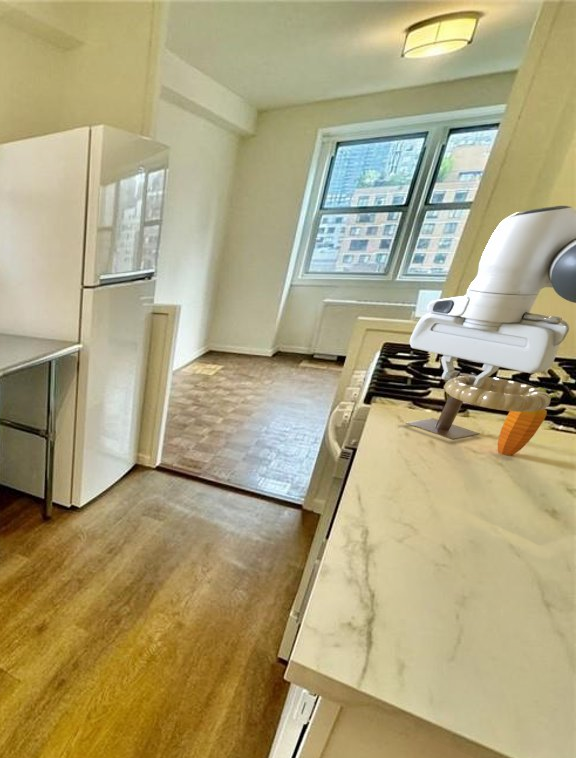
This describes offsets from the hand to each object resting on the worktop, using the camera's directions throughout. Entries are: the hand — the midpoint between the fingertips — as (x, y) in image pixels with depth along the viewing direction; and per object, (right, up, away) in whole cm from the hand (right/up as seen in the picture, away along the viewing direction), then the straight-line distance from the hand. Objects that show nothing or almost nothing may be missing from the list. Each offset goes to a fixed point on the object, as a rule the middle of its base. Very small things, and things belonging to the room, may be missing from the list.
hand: (460, 382), depth 92 cm
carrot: (+12, -15, +3) cm, 19 cm away
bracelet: (+2, -2, -4) cm, 5 cm away
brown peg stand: (+9, -9, +14) cm, 19 cm away
